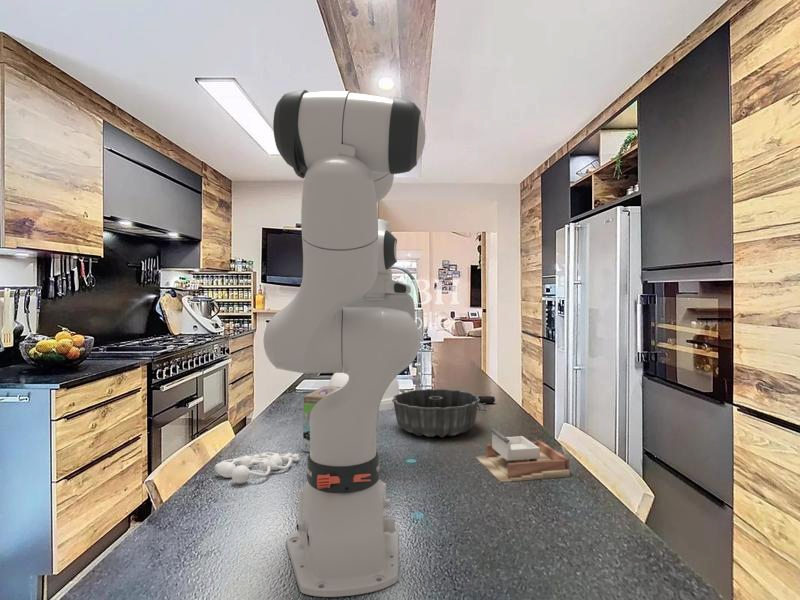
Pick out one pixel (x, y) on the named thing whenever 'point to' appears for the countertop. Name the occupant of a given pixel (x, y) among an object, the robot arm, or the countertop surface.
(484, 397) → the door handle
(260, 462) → the tangled rod sculpture
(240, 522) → the countertop surface
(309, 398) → the tea box
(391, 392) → the dome cover
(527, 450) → the white tray with rod
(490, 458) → the dock
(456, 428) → the bundt pan
